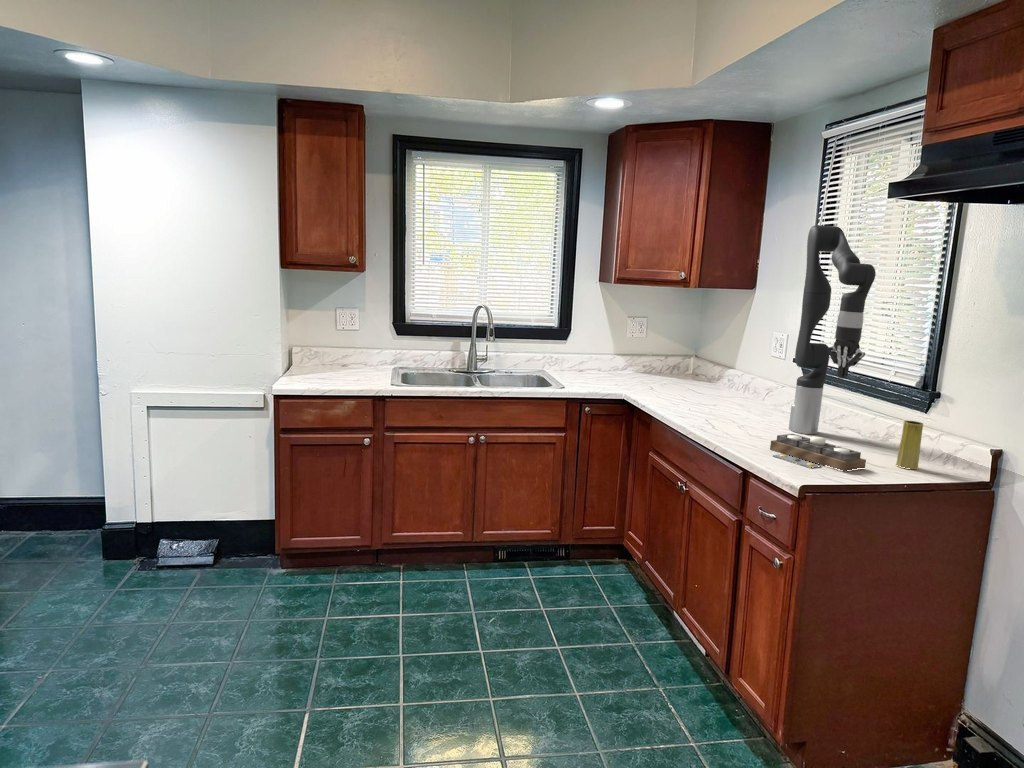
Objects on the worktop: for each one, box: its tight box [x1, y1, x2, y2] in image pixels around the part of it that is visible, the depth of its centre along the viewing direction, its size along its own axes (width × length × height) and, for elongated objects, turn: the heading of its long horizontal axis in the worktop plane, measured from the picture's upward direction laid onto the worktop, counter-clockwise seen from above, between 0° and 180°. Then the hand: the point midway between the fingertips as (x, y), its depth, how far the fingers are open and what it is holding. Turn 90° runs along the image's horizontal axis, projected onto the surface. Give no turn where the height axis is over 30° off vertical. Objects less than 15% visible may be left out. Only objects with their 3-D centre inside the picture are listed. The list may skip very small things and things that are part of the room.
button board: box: [769, 433, 867, 471], centre depth 218 cm, size 27×10×5 cm, turn 30°
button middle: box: [809, 435, 827, 446], centre depth 217 cm, size 4×4×2 cm
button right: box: [834, 447, 851, 453], centre depth 210 cm, size 4×4×2 cm
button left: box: [787, 434, 802, 440], centre depth 225 cm, size 4×4×2 cm
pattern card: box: [772, 453, 822, 468], centre depth 214 cm, size 14×5×1 cm, turn 30°
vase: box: [895, 420, 924, 470], centre depth 213 cm, size 6×6×14 cm
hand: (841, 377), depth 227 cm, fingers closed
